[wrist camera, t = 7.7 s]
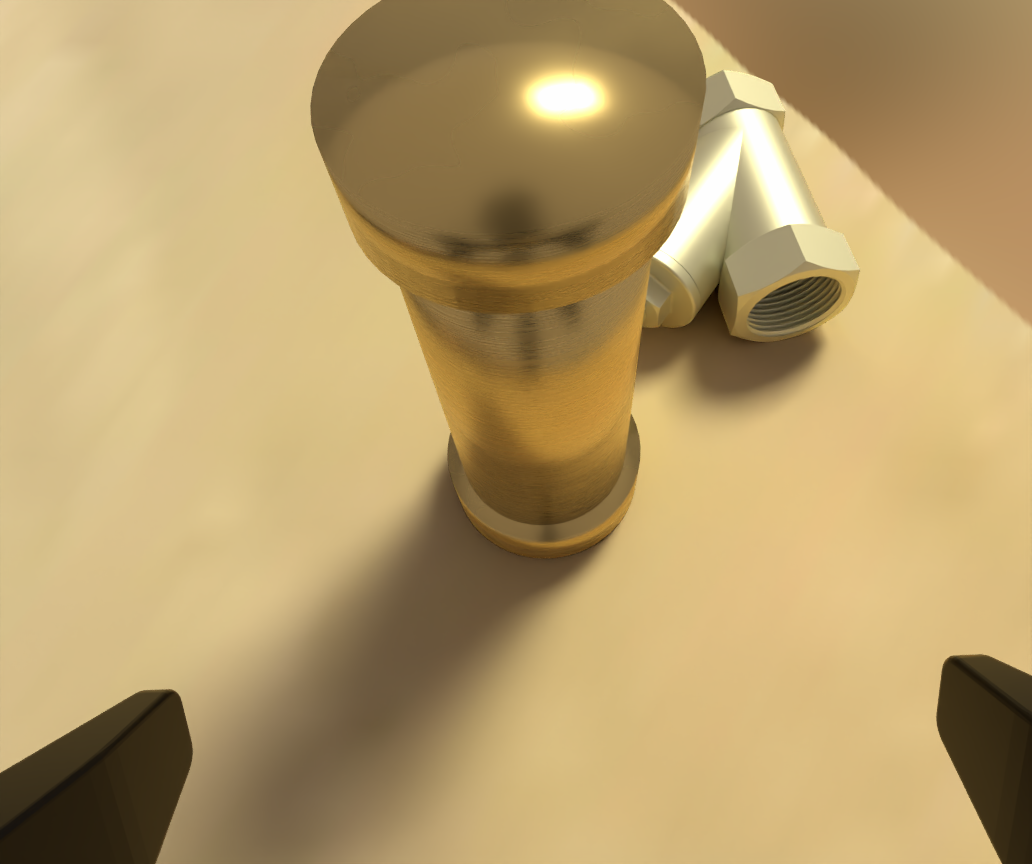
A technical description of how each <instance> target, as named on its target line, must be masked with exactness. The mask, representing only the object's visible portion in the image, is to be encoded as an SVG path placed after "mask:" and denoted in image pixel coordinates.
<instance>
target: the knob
mask: <svg viewBox="0 0 1032 864" xmlns="http://www.w3.org/2000/svg"><path fill="white" fill-rule="evenodd" d="M705 93H706V70H705V65H704V61H703V56H702V53H701V50H700V48H699V45H698V43H697V41H696V38H695V36H694V35H693V33H692V32H691V30H690V29H689V27H688V26H687V24H686V23H685V21H684V20H683V19H682V18H681V17H680V16H679V15H678V14H677V13H676V11H675V10H674V9H673V8H672V7H671V6H669V5H668V4H667V3H666V2H665V1H663V0H381V1H380V2H378V3H377V4H376V5H374V6H373V7H371V8H370V9H368V10H367V11H366V12H365V13H363V14H362V15H361V16H360V17H359V18H358V19H357V20H355V21H354V22H353V23H352V24H351V25H350V26H349V27H348V28H347V29H346V30H345V31H344V33H343V34H342V35H341V36H340V37H339V38H338V39H337V41H336V42H335V44H334V45H333V46H332V48H331V49H330V51H329V52H328V53H327V55H326V57H325V59H324V61H323V63H322V65H321V67H320V69H319V71H318V74H317V77H316V80H315V83H314V86H313V91H312V98H311V124H312V128H313V132H314V136H315V140H316V143H317V146H318V148H319V151H320V153H321V156H322V158H323V161H324V163H325V166H326V168H327V171H328V173H329V176H330V178H331V181H332V183H333V186H334V188H335V191H336V193H337V195H338V198H339V200H340V203H341V205H342V208H343V210H344V213H345V215H346V218H347V220H348V223H349V225H350V228H351V230H352V232H353V234H354V237H355V239H356V241H357V243H358V245H359V246H360V248H361V249H362V250H363V252H364V253H365V255H366V256H367V258H368V259H369V260H370V261H371V262H372V263H373V264H374V265H375V266H376V267H377V268H378V269H379V271H380V272H382V273H383V274H384V275H385V276H387V277H388V278H389V279H391V280H392V281H393V282H394V283H396V284H397V285H399V286H400V289H401V291H402V294H403V297H404V300H405V303H406V306H407V308H408V311H409V314H410V317H411V320H412V323H413V326H414V328H415V331H416V334H417V337H418V340H419V343H420V346H421V348H422V351H423V354H424V357H425V360H426V363H427V365H428V368H429V371H430V374H431V377H432V380H433V383H434V385H435V388H436V391H437V394H438V397H439V400H440V403H441V405H442V408H443V411H444V414H445V417H446V420H447V422H448V425H449V428H450V431H451V433H450V437H449V443H448V466H449V472H450V475H451V479H452V482H453V485H454V487H455V490H456V492H457V495H458V497H459V500H460V502H461V504H462V507H463V509H464V511H465V513H466V515H467V516H468V518H469V520H470V521H471V523H472V524H473V525H474V526H475V528H476V529H477V530H478V531H479V532H480V533H481V534H482V535H483V536H484V537H486V538H487V539H488V540H489V541H491V542H492V543H494V544H495V545H497V546H499V547H501V548H503V549H505V550H507V551H509V552H512V553H515V554H518V555H521V556H526V557H531V558H543V559H545V558H558V557H564V556H569V555H572V554H575V553H579V552H581V551H583V550H586V549H588V548H590V547H592V546H593V545H595V544H597V543H598V542H600V541H601V540H603V539H604V538H605V537H606V536H607V535H609V534H610V533H611V532H612V531H613V530H614V529H615V527H616V526H617V525H618V524H619V523H620V521H621V520H622V518H623V517H624V515H625V514H626V512H627V510H628V508H629V506H630V504H631V501H632V498H633V495H634V490H635V485H636V479H637V474H638V468H639V462H640V440H639V434H638V430H637V427H636V424H635V421H634V419H633V417H632V414H631V408H632V400H633V393H634V385H635V378H636V370H637V363H638V355H639V348H640V340H641V333H642V325H643V318H644V310H645V303H646V295H647V288H648V281H649V273H650V266H651V258H652V257H653V256H654V255H655V254H656V253H657V252H658V251H659V250H660V248H661V247H662V246H663V244H664V243H665V242H666V241H667V239H668V238H669V237H670V235H671V234H672V232H673V230H674V228H675V226H676V225H677V223H678V221H679V219H680V217H681V214H682V212H683V209H684V206H685V203H686V200H687V194H688V189H689V183H690V177H691V172H692V166H693V161H694V155H695V149H696V144H697V138H698V133H699V127H700V122H701V116H702V110H703V105H704V99H705Z"/></svg>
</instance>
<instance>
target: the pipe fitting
mask: <svg viewBox="0 0 1032 864" xmlns="http://www.w3.org/2000/svg"><path fill="white" fill-rule="evenodd" d="M784 118H785V110H784V107H783V105H782V103H781V101H780V99H779V97H778V95H777V93H776V91H775V88H774V87H773V84H772V83H770V82H767V81H765V80H763V79H760V78H758V77H755V76H752V75H749V74H746V73H741V72H737V71H729V70H722V71H720V72H718V73H716V74H714V75H712V76H710V77H708V78H707V79H706V93H705V99H704V105H703V110H702V116H701V122H700V127H699V133H698V138H697V144H696V149H695V155H694V161H693V166H692V172H691V177H690V183H689V189H688V194H687V200H686V203H685V206H684V209H683V212H682V214H681V217H680V219H679V221H678V223H677V225H676V226H675V228H674V230H673V232H672V234H671V235H670V237H669V238H668V239H667V241H666V242H665V243H664V244H663V246H662V247H661V248H660V250H659V251H658V252H657V253H656V254H655V255H654V256H653V257H652V258H651V266H650V273H649V281H648V288H647V295H646V303H645V310H644V318H643V325H642V327H647V328H655V327H659V326H660V325H661V326H663V327H669V328H677V327H682V326H685V325H687V324H689V323H690V322H691V321H692V320H693V319H694V317H695V316H696V315H697V313H698V312H699V310H700V309H701V307H702V306H703V304H704V303H705V302H706V300H707V299H708V297H709V296H710V295H711V293H712V292H713V290H714V289H715V288H716V286H717V285H718V283H719V294H718V301H719V304H720V307H721V310H722V313H723V315H724V318H725V321H726V324H727V327H728V330H729V332H730V335H733V336H736V337H739V338H742V339H746V340H751V341H757V342H772V341H779V340H784V339H788V338H792V337H795V336H798V335H801V334H804V333H806V332H808V331H811V330H813V329H815V328H817V327H819V326H821V325H822V324H824V323H826V322H827V321H829V320H830V319H832V318H833V317H835V316H836V315H837V314H839V313H840V312H841V311H843V309H844V308H845V307H846V306H847V305H848V303H849V301H850V299H851V298H852V296H853V293H854V290H855V287H856V285H857V281H858V276H859V272H860V269H859V266H858V264H857V262H856V260H855V258H854V256H853V254H852V252H851V249H850V247H849V245H848V243H847V241H846V239H845V237H844V235H843V234H842V233H839V232H837V231H834V230H831V229H829V228H827V227H826V224H825V222H824V220H823V218H822V216H821V213H820V211H819V209H818V207H817V205H816V203H815V200H814V198H813V196H812V194H811V192H810V189H809V187H808V185H807V183H806V181H805V179H804V176H803V174H802V172H801V170H800V168H799V166H798V163H797V161H796V159H795V157H794V155H793V153H792V151H791V148H790V146H789V144H788V142H787V140H786V138H785V135H784V133H783V127H784Z"/></svg>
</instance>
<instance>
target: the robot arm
mask: <svg viewBox="0 0 1032 864" xmlns="http://www.w3.org/2000/svg"><path fill="white" fill-rule="evenodd" d="M936 719H937V727H938V731H939V734H940V737H941V740H942V742H943V744H944V746H945V748H946V750H947V752H948V754H949V756H950V758H951V760H952V762H953V765H954V767H955V769H956V771H957V773H958V775H959V777H960V779H961V781H962V783H963V785H964V787H965V789H966V791H967V793H968V795H969V798H970V800H971V802H972V804H973V806H974V808H975V810H976V812H977V814H978V816H979V818H980V820H981V822H982V824H983V826H984V829H985V831H986V833H987V835H988V837H989V839H990V841H991V843H992V845H993V847H994V849H995V851H996V853H997V855H998V857H999V859H1000V861H1001V862H1002V864H1032V676H1031V675H1029V674H1027V673H1025V672H1023V671H1020V670H1018V669H1016V668H1014V667H1012V666H1010V665H1007V664H1005V663H1003V662H1001V661H999V660H997V659H995V658H992V657H990V656H987V655H982V654H979V655H957V656H950V657H949V658H947V659H946V660H945V662H944V664H943V668H942V674H941V682H940V690H939V698H938V706H937V716H936ZM192 755H193V748H192V741H191V737H190V733H189V729H188V725H187V721H186V717H185V713H184V709H183V705H182V701H181V698H180V696H179V695H178V693H177V692H176V691H174V690H171V689H165V690H144V691H140V692H137V693H135V694H134V695H132V696H130V697H129V698H127V699H125V700H124V701H122V702H120V703H118V704H117V705H115V706H113V707H112V708H110V709H108V710H107V711H105V712H103V713H101V714H100V715H98V716H96V717H95V718H93V719H91V720H90V721H88V722H86V723H84V724H83V725H81V726H79V727H78V728H76V729H74V730H73V731H71V732H69V733H67V734H66V735H64V736H62V737H61V738H59V739H57V740H56V741H54V742H52V743H50V744H49V745H47V746H45V747H44V748H42V749H40V750H38V751H37V752H35V753H33V754H32V755H30V756H28V757H27V758H25V759H23V760H21V761H20V762H18V763H16V764H15V765H13V766H11V767H10V768H8V769H6V770H4V771H3V772H1V773H0V864H156V861H157V858H158V855H159V853H160V850H161V847H162V844H163V842H164V839H165V836H166V833H167V830H168V828H169V825H170V822H171V819H172V817H173V814H174V811H175V808H176V806H177V803H178V800H179V797H180V795H181V792H182V789H183V786H184V783H185V781H186V778H187V775H188V772H189V770H190V766H191V762H192Z"/></svg>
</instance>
